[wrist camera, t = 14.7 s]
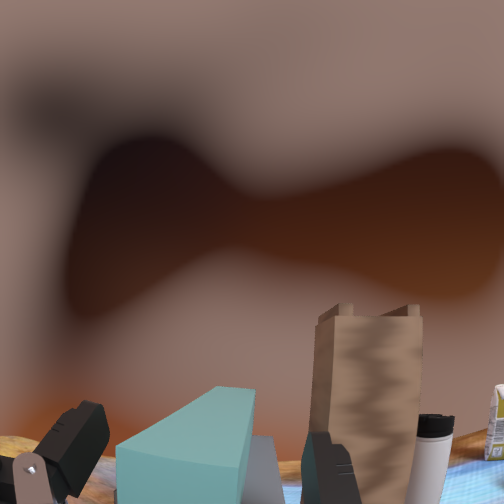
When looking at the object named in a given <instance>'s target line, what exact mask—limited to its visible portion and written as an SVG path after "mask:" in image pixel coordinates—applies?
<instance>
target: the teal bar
mask: <svg viewBox="0 0 504 504" xmlns="http://www.w3.org/2000/svg"><path fill="white" fill-rule="evenodd" d="M255 393H256V390H255V389H243V388H231V387H220V386H217V387H215V388H213V389H212V390H210V391H209V392H207V393H206V394H204V395H202V396H201V397H199V398H198V399H196V400H194V401H193V402H191V403H190V404H188V405H186V406H185V407H183V408H182V409H180V410H178V411H176V412H175V413H173V414H172V415H170V416H168V417H166V418H165V419H163V420H161V421H160V422H158V423H156V424H154V425H153V426H151V427H149V428H148V429H146V430H144V431H142V432H140V433H139V434H137V435H135V436H133V437H131V438H130V439H128V440H126V441H124V442H122V443H120V444H119V445H117V446H116V483H117V504H241V502H242V495H243V489H244V483H245V476H246V470H247V463H248V457H249V450H250V443H251V436H252V430H253V420H254V406H255Z"/></svg>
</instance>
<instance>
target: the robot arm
mask: <svg viewBox="0 0 504 504" xmlns="http://www.w3.org/2000/svg"><path fill="white" fill-rule="evenodd" d="M109 437H110V431H109V427H108V423H107V419H106V415H105V411H104V407H103V406H102V405H101V404H98V403H94V402H91V401H87V400H84V401H82V402H81V404H80V405H79V406H78V408H77V409H73V408H72V409H70V410H68V411H67V412H65V413H63V414H62V415H61V417H60V418H59V419H58V420H57V422H56V424H54V425H53V427H52V428H51V430H49V432H48V433H47V434H46V436H45V437H44V438H43V439H42V441H41V442H40V443H39V445H38V446H37V447H36V448H35V450H34V451H33V452H32V453H31V452H27V453H22V454H20V455H18V456H17V457H16V458H11V457H6V456H1V455H0V504H68V502H67V500H66V497H67V495H71V496H73V497H75V498H78V497H79V495H80V493H81V491H82V489H83V487H84V486H85V484H86V482H87V480H88V478H89V477H90V475H91V473H92V471H93V469H94V467H95V466H96V464H97V462H98V460H99V458H100V457H101V455H102V453H103V451H104V450H105V448H106V446H107V444H108V442H109ZM301 475H302V486H303V498H304V504H362V502H361V497H360V493H359V489H358V485H357V481H356V477H355V474H354V469H353V465H352V461H351V457H350V453H349V452H348V451H347V450H346V448H345V447H344V446H343V445H342V444H332V441H331V436H330V433H329V432H328V431H321V432H309V433H308V436H307V440H306V444H305V447H304V452H303V455H302V460H301Z"/></svg>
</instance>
